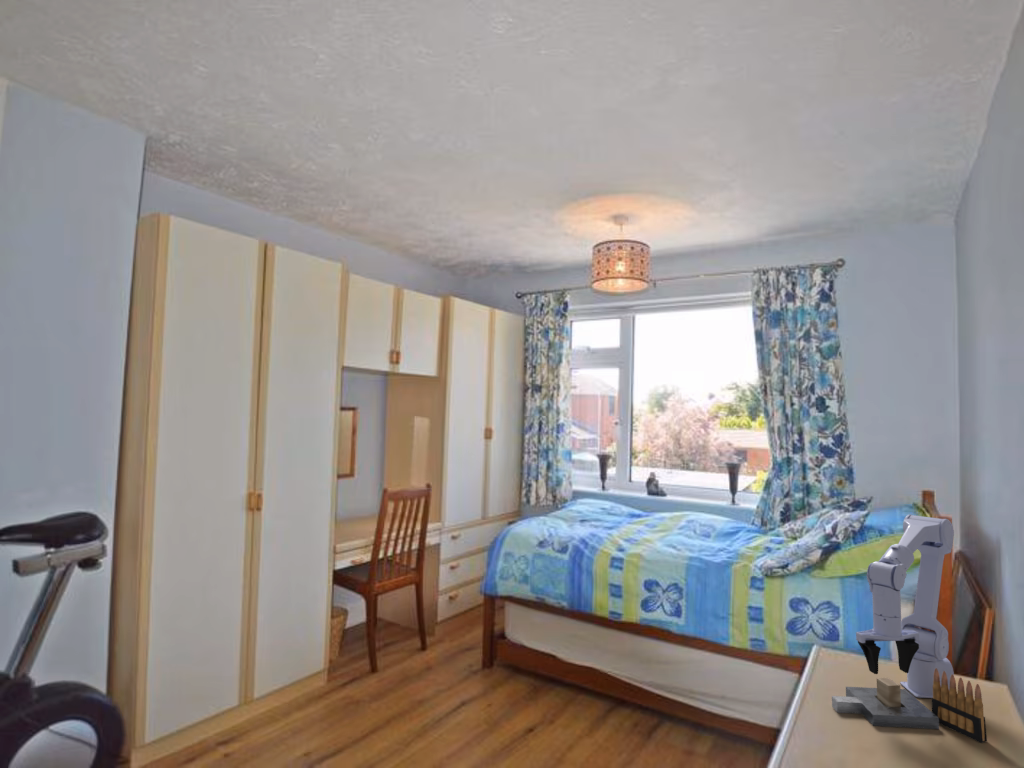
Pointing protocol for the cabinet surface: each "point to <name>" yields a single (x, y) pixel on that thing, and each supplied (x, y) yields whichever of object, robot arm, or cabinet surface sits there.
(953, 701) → the ammunition clip
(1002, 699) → the cabinet surface
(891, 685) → the oak wedge
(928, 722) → the steel bracket head
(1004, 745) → the cabinet surface
